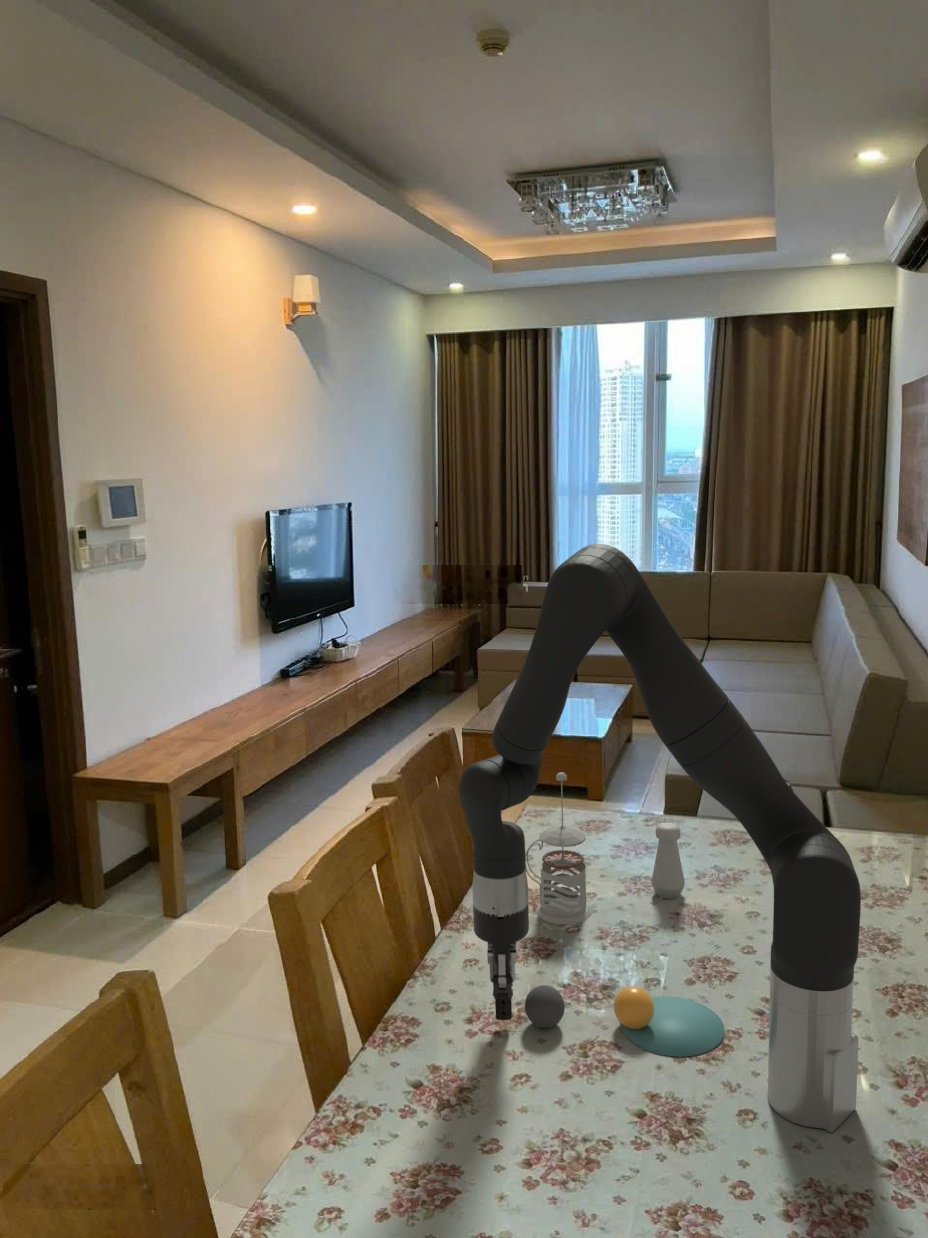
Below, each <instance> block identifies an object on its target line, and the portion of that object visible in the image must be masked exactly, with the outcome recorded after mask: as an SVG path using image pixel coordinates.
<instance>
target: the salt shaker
mask: <svg viewBox="0 0 928 1238" xmlns="http://www.w3.org/2000/svg"><path fill="white" fill-rule="evenodd" d="M655 837H656V838H657V839H658V842H657V848H656V856H655V861H654V867H653V872H652V877H651V885H652V887H653V890H654V893H655V895H656V896H658V897H660V898H661V899H666V900H675V899H677V898H678V897H680V896H681V894H682V892H683V890H684V888H685V883H686V881H685V877H684V872H683V871H684V870H683V866H682V861H681V855H680V851H679V850H680V849H679V845H678V840H679V839H680V838H681V827H680V826H679V825H678V824H677V823H674V822H661V823H659V824H657V826H656V828H655Z"/></svg>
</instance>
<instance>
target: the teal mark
mask: <svg viewBox="0 0 928 1238" xmlns="http://www.w3.org/2000/svg"><path fill="white" fill-rule="evenodd" d="M651 998H652V1000H653V1003H654V1015H653V1018H652V1020H651V1021H650V1023H649V1024H648V1025H647V1026H645V1027H643V1028H641V1029H630V1028H627V1027H625V1026H624V1025H622V1024H621V1023H620V1022H619V1024H620V1025H621V1026H620V1029H621V1028H622V1029H621V1032H622V1033H623V1032H624V1033H623V1034H624V1036H625V1035H626V1036H627V1037H628V1038H629V1039H630V1040H631V1041H632V1042H631V1041H630V1040H629V1039H628V1038H627V1037H626V1036H625V1037H626V1038H627V1039H628V1040H629V1041H630V1042H631V1043H633V1044H634V1043H635V1044H636V1045H635V1044H634V1045H635V1046H637V1045H638V1046H637V1047H639V1046H640V1047H639V1048H641V1049H643V1050H645V1051H648V1052H650V1053H653V1054H657V1055H661V1056H667V1057H678V1058H682V1057H683V1058H684V1057H685V1058H686V1057H693V1056H699V1055H703V1054H705V1053H708V1052H710V1051H712V1050H714V1049H715V1048H717V1047H718V1046H719V1045H720V1044H721V1042H722V1041H723V1039H724V1037H725V1026H724V1023H723V1020H722V1019H721V1017H720V1016H719V1015H718V1014H717V1013H716V1012H715V1011H713V1010H712V1009H711V1008H709V1007H707V1006H706V1005H704V1004H702V1003H701V1002H700V1003H699V1002H697V1001H695V1000H691V999H689V998H685V997H679V996H671V995H666V996H665V995H662V996H661V995H659V996H658V995H657V996H651Z"/></svg>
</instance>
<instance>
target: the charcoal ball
mask: <svg viewBox="0 0 928 1238" xmlns="http://www.w3.org/2000/svg"><path fill="white" fill-rule="evenodd" d="M565 1009H566V1007H565V1001H564V998H563V996H562V994H561V993H560V991H559V990H557V989H556V988H555V987H553V986H550V985H547V984H544V985H543V984H542V985H537V986H535V987H534V988H532V989H531V990H530V991H529V992H528V994H527V995H526V997H525V1000H524V1011H525V1014H526V1017H527V1018H528V1020H529V1021H530V1022H531V1023H532V1024H533V1025H535V1026H536V1027H539V1028H542V1029H548V1028H552V1027H554V1026H556V1025H557V1024H559V1023H560V1021H561V1020H562V1019H563V1016H564V1014H565Z"/></svg>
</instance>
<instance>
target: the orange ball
mask: <svg viewBox="0 0 928 1238" xmlns="http://www.w3.org/2000/svg"><path fill="white" fill-rule="evenodd" d="M651 997H652V996H651V995H650V994H649V993H648V991H647V990H645V989H644V988H642V987H638V986H636V985H630V986H627V987H623V989H621V990H620V991H618V992H617V994H616V995H615V998H614V999H613V1000H614V1001H613V1012H614V1015H615V1018H616V1019H617V1021H618V1022H619V1024H620V1023H621V1024H622V1025H624V1026H625V1027H627V1028H630V1029H641V1028H643V1027H645V1026H647V1025H648V1024H649V1023H650V1021H651V1020H652V1018H653V1015H654V1003H653V1000H652V998H651Z"/></svg>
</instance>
